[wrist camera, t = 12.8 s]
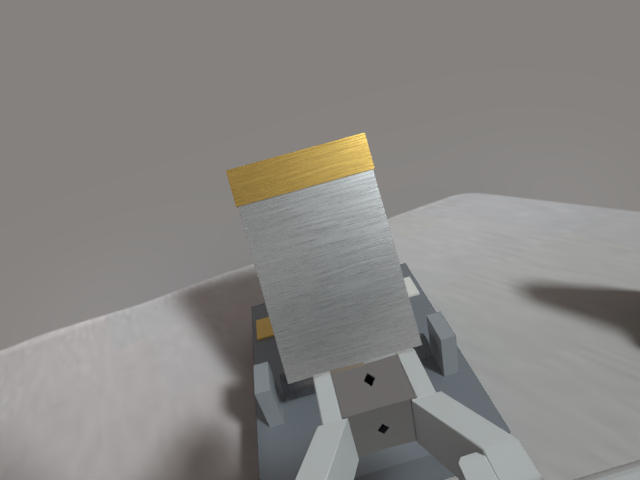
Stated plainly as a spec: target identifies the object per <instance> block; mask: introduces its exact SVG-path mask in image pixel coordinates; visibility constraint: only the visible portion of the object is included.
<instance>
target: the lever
mask: <svg viewBox="0 0 640 480" xmlns="http://www.w3.org/2000/svg"><path fill="white" fill-rule="evenodd" d="M374 169H375V168H374V164H373V161H372V158H371V154H370V150H369V147H368V143H367V139H366V136H365V133H361V134H357V135H354V136H350V137H347V138H343V139H339V140H336V141H332V142H328V143H325V144H321V145H317V146H314V147H310V148H306V149H303V150H299V151H296V152H292V153H289V154H285V155H281V156H278V157H274V158H270V159H267V160H263V161H259V162H256V163H252V164H248V165H245V166H241V167H237V168H234V169H230V170H227V171H226V172H227V176H228V180H229V183H230V186H231V190H232V194H233V197H234V201H235V204H236V207H237V208H239V212H240V216H241V219H242V222H243V226H244V229H245V233H246V237H247V240H248V244H249V247H250V251H251V254H252V258H253V262H254V265H255V269H256V272H257V276H258V279H259V283H260V286H261V290H262V294H263V297H264V301H265V304H266V308H267V311H268V315H269V318H270V322H271V325H272V329H273V333H274V336H275V340H276V343H277V347H278V350H279V354H280V357H281V361H282V364H283V368H284V372H285V373H282V374H280V381H281V387H282V391H283V394H284V397H285V400H286V401H290V400H293V399H297V398H300V397H303V396H307V395H310V394H314V393H316V392H315V386H314V381H313V375H315V374H319V373H323V372H327V371H330V370H334V369H338V368H342V367H346V366H350V365H354V364H358V363H362V362H363V361H367V360H370V359H374V358H377V357H380V356H384V355H387V354H391V353H394V352H395V353H396V352H398V351H402V350H406V349H409V348H413V349H414V350H415V351H416V353H417V355H418V357H419V359H420V361H421V362H423V361H426V360H430V359H432V353H431V349H430V346H429V343H428V341H427V338H426V336H425V335H424V333H419V331H418V328H417V324H416V321H415V317H414V313H413V310H412V306H411V303H410V299H409V296H408V292H407V289H406V285H405V281H404V278H403V274H402V271H401V267H400V264H399V260H398V257H397V253H396V249H395V246H394V242H393V239H392V235H391V232H390V228H389V225H388V221H387V217H386V214H385V210H384V207H383V203H382V200H381V196H380V193H379V189H378V186H377V182H376V178H375V175H374V171H373V170H374ZM330 373H331V371H330Z"/></svg>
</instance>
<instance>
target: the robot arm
mask: <svg viewBox="0 0 640 480" xmlns="http://www.w3.org/2000/svg"><path fill="white" fill-rule="evenodd" d="M330 371H331V373H330ZM330 371H327V372H323V373H319V374H315V375H313V381H314V386H315V392H316V397H317V402H318V407H319V412H320V417H321V422H322V425H321V426H317V428H316V431H315V433H314V436H313V438H312V440H311V443H310V445H309V448H308V450H307V452H306V455H305V457H304V460H303V462H302V464H301V467H300V469H299V472H298V474H297V477H296V479H295V480H354V477H355V473H356V469H357V465H358V461H359V457H362V456H365V455H368V454H371V453H374V452H377V451H380V450H383V449H387V448H390V447H394V446H398V445H402V444H406V443H410V442H414V441H417V443H419V444H420V445H421V446H422V447H423V448H424V449H425V450H427V451H428V452H429V453H430V454H431V455H432V456H433V457H435V458H436V459H437V460H438V461H439V462H440V463H442V464H443V465H444V466H445V467H446V468H447V469H448V470H450V471H451V472H452V473H453V474H454V475H455V476H457V477H458V478H459V480H543V478H542V477H541V475H540V474H539V472H538V470H537V469H536V467H535V466H534V464H533V462H532V461H531V459H530V458H529V456H528V454H527V453H526V451H525V450H524V448H523V446H522V445H521V443H520V442H519V440H518V439H517V438H515V437H514V436H512V435H511V434H509V433H507V432H506V431H504V430H502V429H501V428H499V427H498V426H496V425H494V424H493V423H491V422H490V421H488V420H486V419H485V418H483V417H482V416H480V415H478V414H477V413H475V412H474V411H472V410H470V409H469V408H467V407H466V406H464V405H462V404H461V403H459V402H458V401H456V400H454V399H453V398H451V397H450V396H448V395H446V394H445V393H443V392H442V391H440V392H436V391H435V389H434V387H433V385H432V383H431V381H430V379H429V377H428V375H427V373H426V371H425V369H424V367H423V365H422V363H421V361H420V359H419V357H418V355H417V353H416V351H415V350H414V349H413V348H409V349H406V350H402V351H398V352H396V353H395V352H394V353H391V354H387V355H384V356H380V357H377V358H374V359H370V360H367V361H363V362H362V363H358V364H354V365H350V366H346V367H342V368H338V369H334V370H330ZM574 480H640V460H638V461H634V462H631V463H628V464H624V465H621V466H618V467H614V468H611V469H608V470H604V471H601V472H598V473H594V474H591V475H588V476H584V477H581V478H578V479H574Z"/></svg>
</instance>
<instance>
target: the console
mask: <svg viewBox="0 0 640 480" xmlns="http://www.w3.org/2000/svg"><path fill="white" fill-rule="evenodd" d="M400 267H401V271H402V274H403V278H404V281H405V285H406V289H407V292H408V296H409V299H410V303H411V306H412V310H413V313H414V317H415V321H416V324H417V328H418V331H419V333H424V335H425V336H426V338H427V341H428V343H429V346H430V349H431V353H432V359H430V360H426V361H423V362H421V363H422V365H423V367H424V369H425V371H426V373H427V375H428V377H429V379H430V381H431V383H432V385H433V387H434V389H435V391H436V392H440V391H442V392H443V393H445V394H446V395H448V396H450V397H451V398H453V399H454V400H456V401H458V402H459V403H461V404H462V405H464V406H466V407H467V408H469V409H470V410H472V411H474V412H475V413H477V414H478V415H480V416H482V417H483V418H485V419H486V420H488V421H490V422H491V423H493V424H494V425H496V426H498V427H499V428H501V429H502V430H504V431H506V432H507V433H509V434H510V430H509V428H508V427H507V425H506V423H505V422H504V420H503V419H502V417H501V415H500V414H499V412H498V411H497V409H496V407H495V406H494V404H493V403H492V401H491V399H490V398H489V396H488V395H487V393H486V391H485V390H484V388H483V387H482V385H481V383H480V382H479V380H478V379H477V377H476V375H475V374H474V372H473V371H472V369H471V367H470V366H469V364H468V363H467V361H466V359H465V358H464V356H463V355H462V353H461V351H460V350H459V348H458V347H457V343H456V335H455V333H454V332H453V330H452V329H451V327H450V325H449V324H448V322H447V321H446V319H445V318H444V316H443V315H442V313H441V311H440V312H437V313H436V311H435V310H434V308H433V307H432V305H431V303H430V302H429V300H428V299H427V297H426V295H425V294H424V292H423V291H422V289H421V287H420V286H419V284H418V283H417V281H416V279H415V278H414V276H413V275H412V273H411V271H410V270H409V268H408V267H407V265H406V263H404V264H401V265H400ZM252 326H253V349H254V366H253V368H254V393H255V396H256V417H257V440H258V463H259V480H295V479H296V477H297V474H298V472H299V469H300V467H301V464H302V462H303V460H304V457H305V455H306V452H307V450H308V448H309V445H310V443H311V440H312V438H313V436H314V433H315V431H316V428H317V426H321V425H322V422H321V417H320V412H319V407H318V402H317V397H316V393H314V394H310V395H307V396H303V397H300V398H297V399H293V400H290V401H286V400H285V397H284V394H283V391H282V387H281V381H280V374H282V373H285V372H284V368H283V364H282V361H281V357H280V354H279V350H278V347H277V343H276V340H275V336H274V333H273V329H272V325H271V322H270V318H269V315H268V311H267V308H266V304H265V303H264V304H260V305H257V306H253V307H252ZM453 476H455V475H454V474H453V473H452V472H451V471H450V470H448V469H447V468H446V467H445V466H444V465H443V464H442V463H440V462H439V461H438V460H437V459H436V458H435V457H433V456H432V455H431V454H430V453H429V452H428V451H427V450H425V449H424V448H423V447H422V446H421V445H420V444H419V443H417V441H414V442H410V443H406V444H402V445H398V446H394V447H390V448H387V449H383V450H380V451H377V452H374V453H371V454H368V455H365V456H362V457H359V461H358V465H357V469H356V473H355V477H354V480H443V479H447V478H450V477H453Z"/></svg>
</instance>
